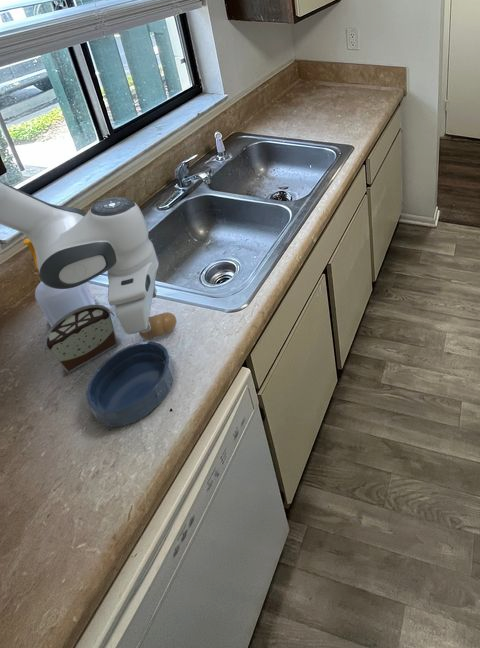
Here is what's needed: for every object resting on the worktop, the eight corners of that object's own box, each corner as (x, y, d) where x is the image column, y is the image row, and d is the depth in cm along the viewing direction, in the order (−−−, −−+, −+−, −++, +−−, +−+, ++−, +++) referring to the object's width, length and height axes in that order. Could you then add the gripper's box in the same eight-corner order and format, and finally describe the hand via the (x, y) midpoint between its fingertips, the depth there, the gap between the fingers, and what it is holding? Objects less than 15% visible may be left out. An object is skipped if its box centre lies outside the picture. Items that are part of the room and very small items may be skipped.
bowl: (86, 440, 80) (77, 425, 78) (103, 370, 92) (96, 355, 90) (171, 410, 85) (165, 395, 83) (177, 347, 97) (171, 332, 94)
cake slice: (117, 323, 103) (104, 292, 98) (125, 340, 99) (111, 309, 94) (54, 358, 95) (36, 327, 90) (59, 378, 91) (41, 346, 87)
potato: (140, 346, 97) (134, 334, 95) (143, 328, 101) (137, 316, 99) (178, 335, 100) (173, 322, 97) (179, 317, 103) (174, 305, 101)
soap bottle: (53, 338, 99) (8, 257, 89) (49, 313, 105) (7, 234, 95) (99, 315, 104) (62, 236, 94) (92, 293, 111) (57, 216, 100)
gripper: (125, 237, 99) (140, 281, 105) (105, 307, 82) (125, 356, 88) (156, 230, 101) (169, 274, 107) (143, 297, 84) (160, 345, 90)
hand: (149, 311), depth 97 cm, fingers open, 8 cm apart
